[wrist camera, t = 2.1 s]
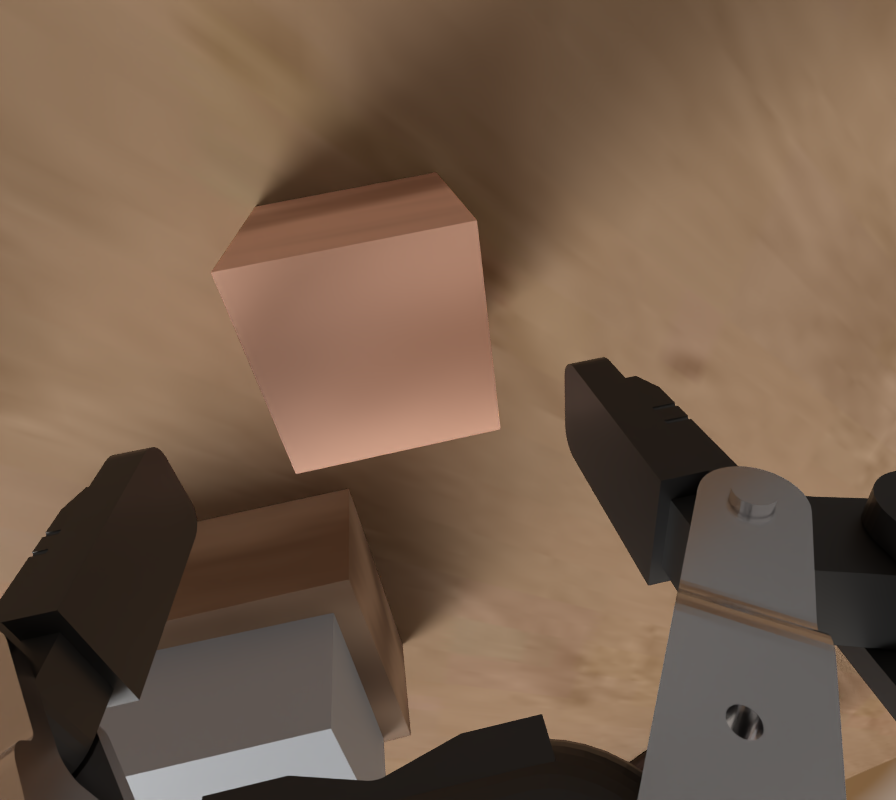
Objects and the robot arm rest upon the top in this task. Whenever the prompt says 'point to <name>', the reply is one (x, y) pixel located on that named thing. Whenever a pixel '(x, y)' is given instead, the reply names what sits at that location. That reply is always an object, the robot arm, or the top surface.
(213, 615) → the walnut base block
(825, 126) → the top surface
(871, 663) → the robot arm
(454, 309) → the terracotta block
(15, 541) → the top surface
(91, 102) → the top surface
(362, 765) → the grey top block
